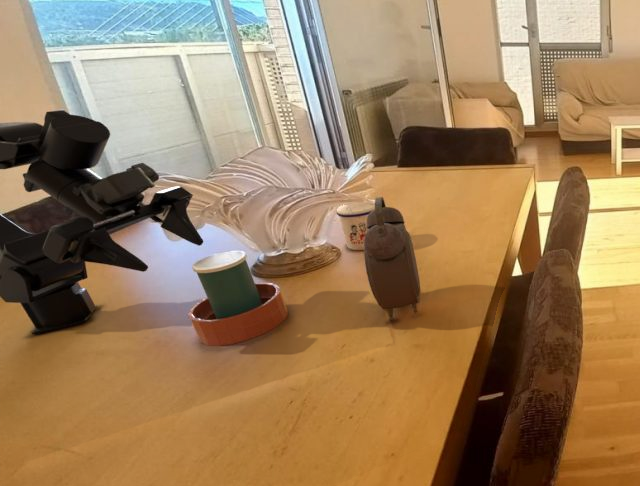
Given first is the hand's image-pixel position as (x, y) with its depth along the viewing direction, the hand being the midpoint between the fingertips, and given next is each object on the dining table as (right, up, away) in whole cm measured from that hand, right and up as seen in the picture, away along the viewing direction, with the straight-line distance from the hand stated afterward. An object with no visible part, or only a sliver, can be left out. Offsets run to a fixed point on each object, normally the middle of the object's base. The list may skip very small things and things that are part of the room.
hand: (175, 255), depth 75 cm
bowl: (+8, -12, +4) cm, 15 cm away
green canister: (+8, -12, +4) cm, 15 cm away
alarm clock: (+32, -10, +9) cm, 35 cm away
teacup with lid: (+13, +1, +36) cm, 38 cm away
